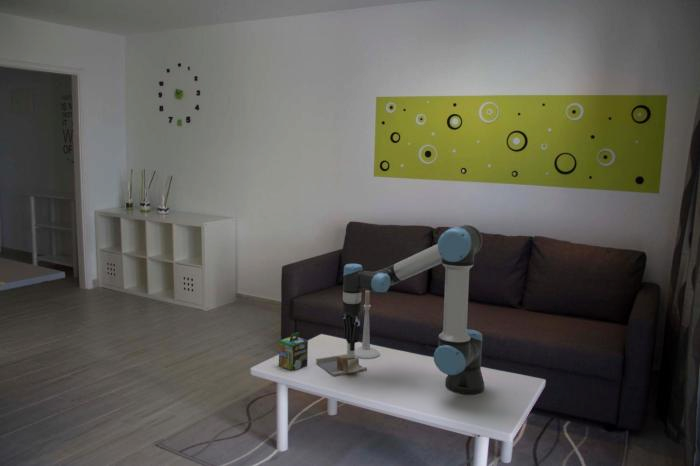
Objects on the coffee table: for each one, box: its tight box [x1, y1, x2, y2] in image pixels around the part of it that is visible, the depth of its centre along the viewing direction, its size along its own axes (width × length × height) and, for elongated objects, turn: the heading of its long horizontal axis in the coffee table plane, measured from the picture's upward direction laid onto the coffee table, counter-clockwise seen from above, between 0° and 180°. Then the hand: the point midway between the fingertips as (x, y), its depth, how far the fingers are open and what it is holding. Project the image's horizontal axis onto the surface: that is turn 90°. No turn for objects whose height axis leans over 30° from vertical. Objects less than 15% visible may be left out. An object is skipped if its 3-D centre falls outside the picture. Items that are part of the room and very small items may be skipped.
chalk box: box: [278, 331, 309, 372], centre depth 245 cm, size 9×9×15 cm
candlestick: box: [354, 290, 381, 360], centre depth 261 cm, size 13×13×30 cm
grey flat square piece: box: [315, 353, 368, 377], centre depth 246 cm, size 16×16×2 cm
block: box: [337, 354, 360, 374], centre depth 240 cm, size 5×5×10 cm
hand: (350, 357), depth 238 cm, fingers closed
